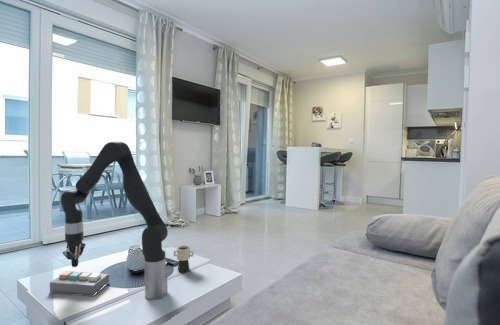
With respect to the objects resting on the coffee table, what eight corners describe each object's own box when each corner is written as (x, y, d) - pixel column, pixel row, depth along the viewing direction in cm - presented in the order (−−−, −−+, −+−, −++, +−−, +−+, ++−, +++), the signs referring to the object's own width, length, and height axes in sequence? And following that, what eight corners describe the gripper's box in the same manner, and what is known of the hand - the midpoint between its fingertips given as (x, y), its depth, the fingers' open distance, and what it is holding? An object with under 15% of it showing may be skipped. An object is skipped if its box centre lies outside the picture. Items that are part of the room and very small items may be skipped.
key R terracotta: (72, 279, 143) (72, 271, 143) (66, 283, 140) (66, 275, 139) (65, 279, 144) (65, 271, 144) (59, 282, 140) (59, 274, 140)
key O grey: (91, 281, 142) (91, 273, 142) (86, 284, 139) (86, 276, 138) (84, 280, 143) (84, 272, 142) (78, 284, 139) (78, 276, 139)
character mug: (194, 267, 166) (194, 245, 165) (192, 273, 158) (192, 249, 158) (175, 267, 166) (175, 245, 165) (172, 273, 158) (171, 249, 158)
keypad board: (109, 283, 146) (109, 273, 145) (93, 296, 134) (93, 285, 134) (68, 280, 148) (68, 271, 148) (50, 292, 136) (49, 282, 136)
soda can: (137, 271, 160) (136, 250, 159) (125, 270, 161) (125, 249, 161) (144, 266, 167) (143, 245, 166) (133, 265, 168) (132, 244, 168)
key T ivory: (101, 281, 142) (100, 273, 141) (96, 285, 138) (95, 277, 138) (93, 281, 142) (93, 273, 142) (88, 284, 138) (88, 276, 138)
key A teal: (82, 280, 143) (81, 272, 143) (76, 284, 139) (76, 275, 139) (74, 279, 143) (74, 271, 143) (69, 283, 140) (68, 275, 139)
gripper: (71, 235, 133) (72, 272, 134) (90, 227, 146) (91, 261, 147) (56, 234, 133) (57, 271, 135) (76, 226, 147) (77, 260, 148)
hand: (75, 266), depth 141 cm, fingers closed
